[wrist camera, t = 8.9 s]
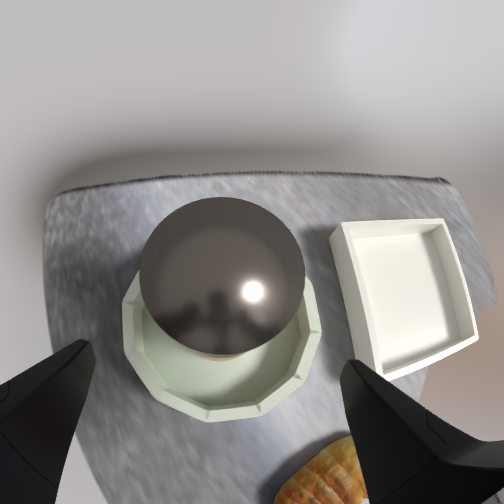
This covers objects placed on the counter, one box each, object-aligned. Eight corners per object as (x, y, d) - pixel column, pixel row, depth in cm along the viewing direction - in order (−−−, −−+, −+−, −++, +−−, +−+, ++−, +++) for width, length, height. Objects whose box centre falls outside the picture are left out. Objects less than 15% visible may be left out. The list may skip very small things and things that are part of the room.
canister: (270, 338, 20) (336, 294, 9) (208, 376, 18) (192, 387, 7) (232, 279, 22) (247, 176, 10) (170, 313, 20) (115, 240, 9)
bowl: (318, 397, 19) (333, 400, 16) (144, 417, 17) (132, 424, 14) (289, 240, 24) (298, 223, 21) (134, 253, 22) (123, 237, 19)
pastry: (295, 528, 14) (307, 548, 10) (255, 482, 16) (262, 501, 12) (384, 470, 17) (407, 480, 13) (353, 421, 19) (376, 427, 15)
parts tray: (459, 344, 22) (478, 339, 19) (359, 384, 20) (378, 384, 17) (428, 231, 27) (443, 218, 24) (328, 238, 25) (340, 222, 22)
